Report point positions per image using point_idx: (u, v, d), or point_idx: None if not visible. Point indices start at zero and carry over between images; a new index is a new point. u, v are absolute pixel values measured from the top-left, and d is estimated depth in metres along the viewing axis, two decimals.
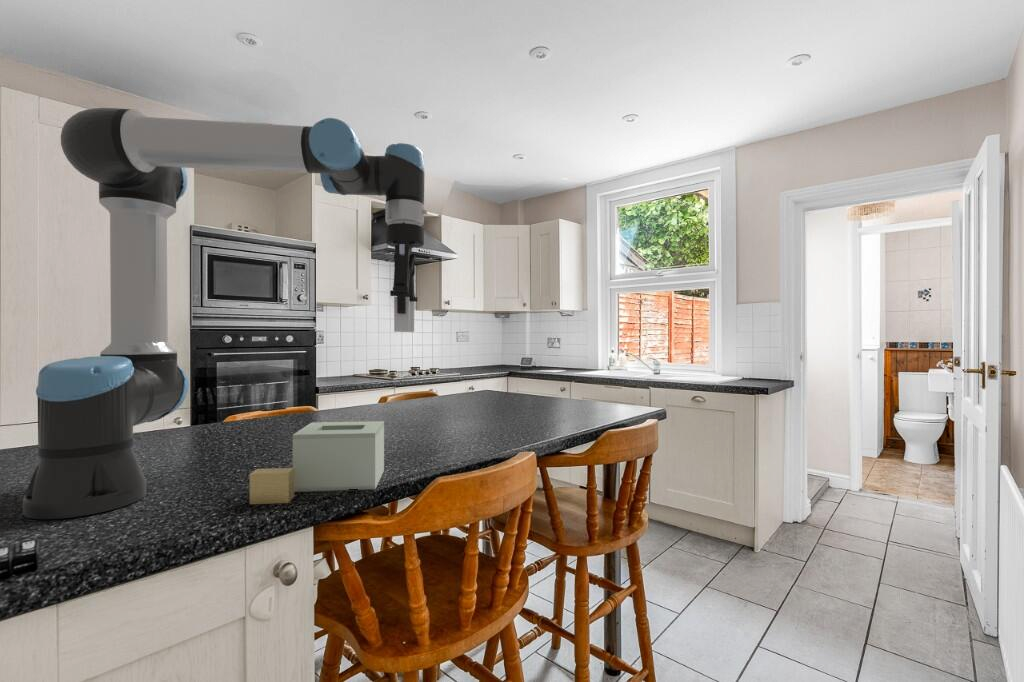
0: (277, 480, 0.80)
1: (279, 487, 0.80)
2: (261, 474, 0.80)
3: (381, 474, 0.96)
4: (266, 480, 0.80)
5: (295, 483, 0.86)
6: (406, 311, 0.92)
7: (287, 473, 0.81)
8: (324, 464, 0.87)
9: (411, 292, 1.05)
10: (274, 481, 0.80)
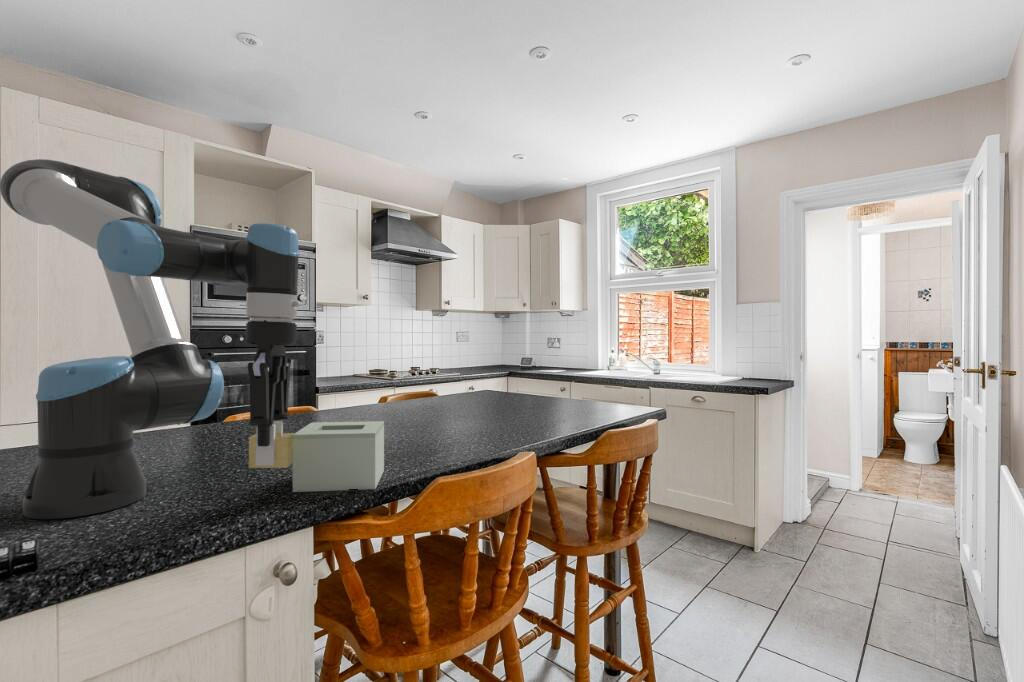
0: (276, 444, 0.81)
1: (278, 451, 0.81)
2: None
3: (381, 474, 0.96)
4: None
5: (295, 483, 0.86)
6: (270, 442, 0.80)
7: (286, 437, 0.81)
8: (324, 464, 0.87)
9: (279, 405, 0.84)
10: None
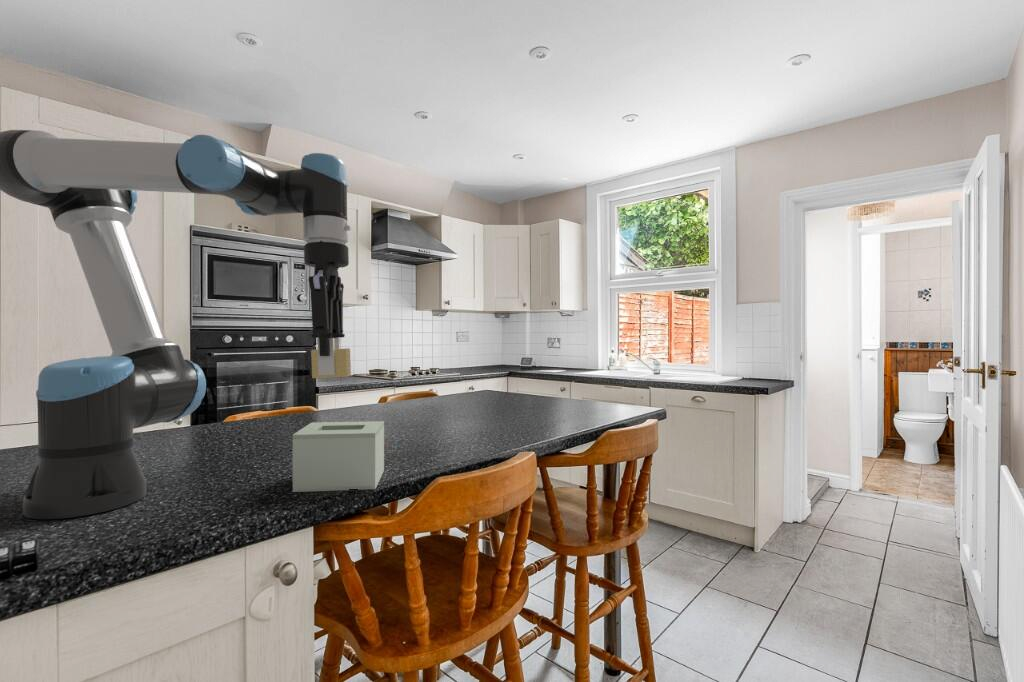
0: (335, 355, 0.88)
1: (338, 362, 0.88)
2: None
3: (381, 474, 0.96)
4: None
5: (295, 483, 0.86)
6: (330, 353, 0.87)
7: (344, 349, 0.88)
8: (324, 464, 0.87)
9: (336, 323, 0.91)
10: None
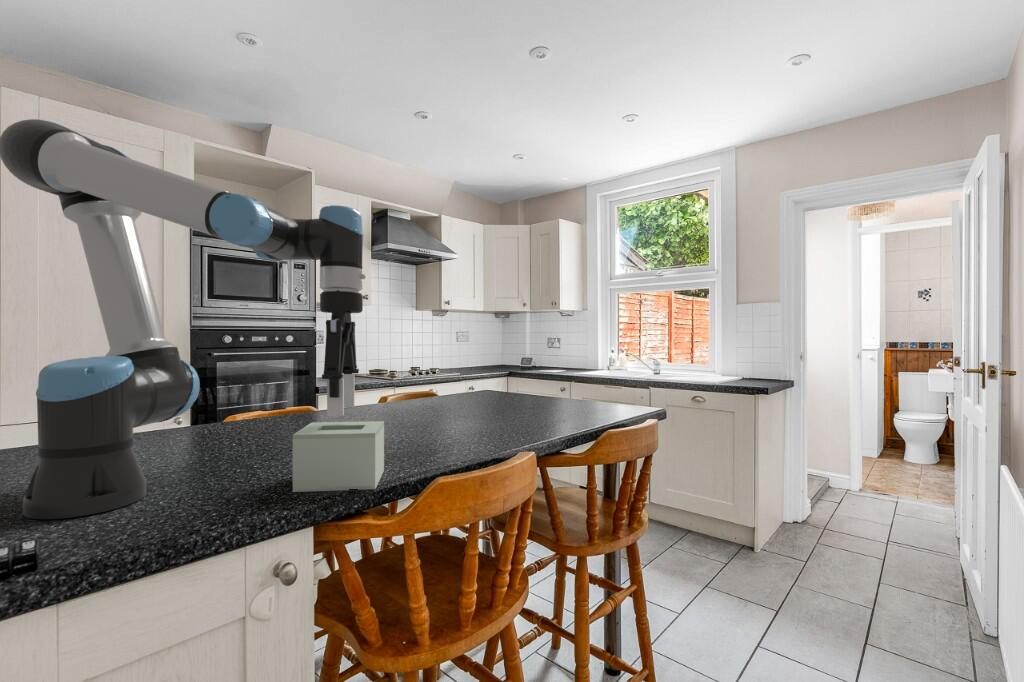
0: None
1: None
2: None
3: (381, 474, 0.96)
4: None
5: (295, 483, 0.86)
6: (340, 394, 0.87)
7: None
8: (324, 464, 0.87)
9: (351, 363, 0.97)
10: None
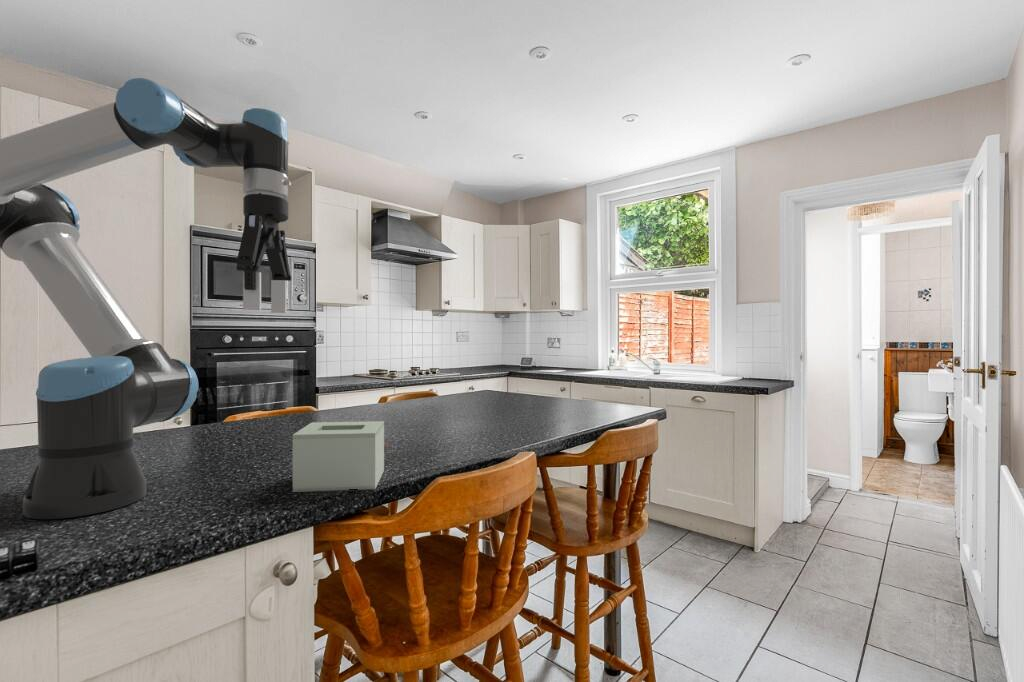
0: None
1: None
2: None
3: (381, 474, 0.96)
4: None
5: (295, 483, 0.86)
6: (256, 287, 0.85)
7: None
8: (324, 464, 0.87)
9: (281, 270, 0.98)
10: None
